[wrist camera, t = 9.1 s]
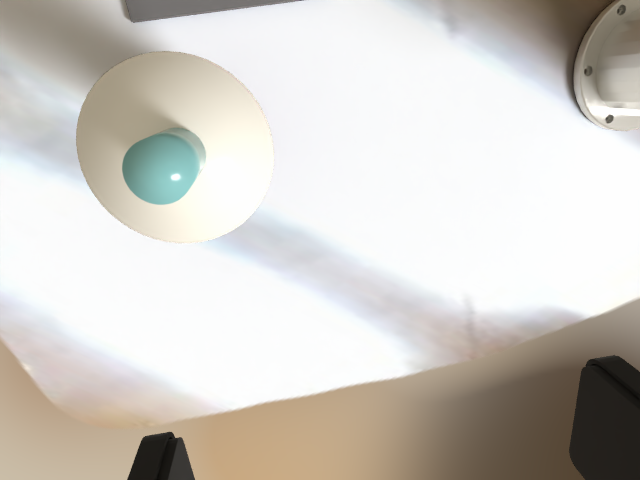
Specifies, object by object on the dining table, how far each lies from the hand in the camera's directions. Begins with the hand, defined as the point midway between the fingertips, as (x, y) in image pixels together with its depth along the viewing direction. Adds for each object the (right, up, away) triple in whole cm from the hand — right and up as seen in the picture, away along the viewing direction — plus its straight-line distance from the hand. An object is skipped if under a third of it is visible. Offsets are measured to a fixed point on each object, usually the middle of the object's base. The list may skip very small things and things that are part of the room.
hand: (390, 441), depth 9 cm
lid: (-9, +9, +13) cm, 18 cm away
